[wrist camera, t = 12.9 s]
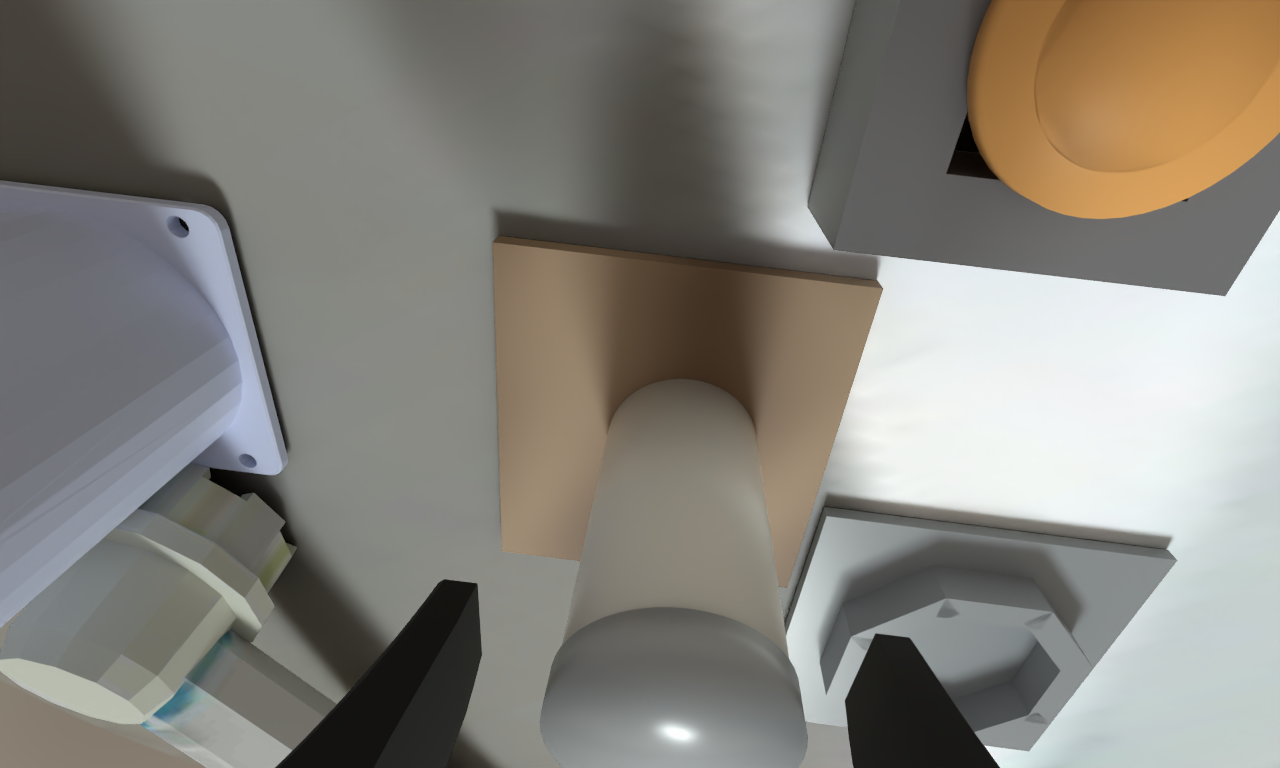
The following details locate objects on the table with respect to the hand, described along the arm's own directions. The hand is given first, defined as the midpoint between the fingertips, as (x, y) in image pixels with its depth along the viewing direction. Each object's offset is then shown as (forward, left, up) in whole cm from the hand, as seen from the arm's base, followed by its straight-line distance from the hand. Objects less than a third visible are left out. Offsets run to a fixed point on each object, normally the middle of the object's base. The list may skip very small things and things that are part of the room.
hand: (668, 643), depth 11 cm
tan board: (0, 0, -7) cm, 7 cm away
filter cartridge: (0, 0, -6) cm, 6 cm away
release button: (+6, +10, -7) cm, 13 cm away
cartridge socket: (+10, -7, -7) cm, 14 cm away
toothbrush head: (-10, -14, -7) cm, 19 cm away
